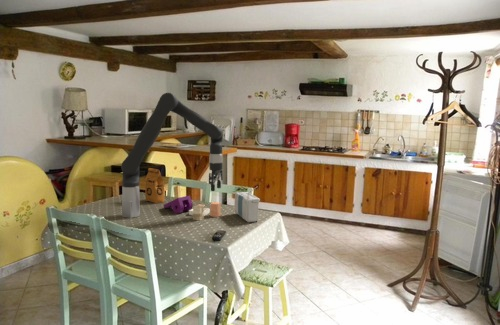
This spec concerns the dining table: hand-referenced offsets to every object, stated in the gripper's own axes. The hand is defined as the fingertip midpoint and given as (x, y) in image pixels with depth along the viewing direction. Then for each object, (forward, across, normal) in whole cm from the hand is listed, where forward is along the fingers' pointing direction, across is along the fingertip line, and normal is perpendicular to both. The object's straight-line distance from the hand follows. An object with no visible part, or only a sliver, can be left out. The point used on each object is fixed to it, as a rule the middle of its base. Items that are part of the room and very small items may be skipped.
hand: (215, 189), depth 224 cm
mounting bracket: (+16, -2, -27) cm, 32 cm away
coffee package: (+15, -16, -51) cm, 56 cm away
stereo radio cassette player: (+16, -3, +18) cm, 24 cm away
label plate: (+15, -16, -18) cm, 29 cm away
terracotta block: (+15, 0, 0) cm, 16 cm away
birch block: (+15, +10, -6) cm, 19 cm away
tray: (+15, 0, -10) cm, 19 cm away
